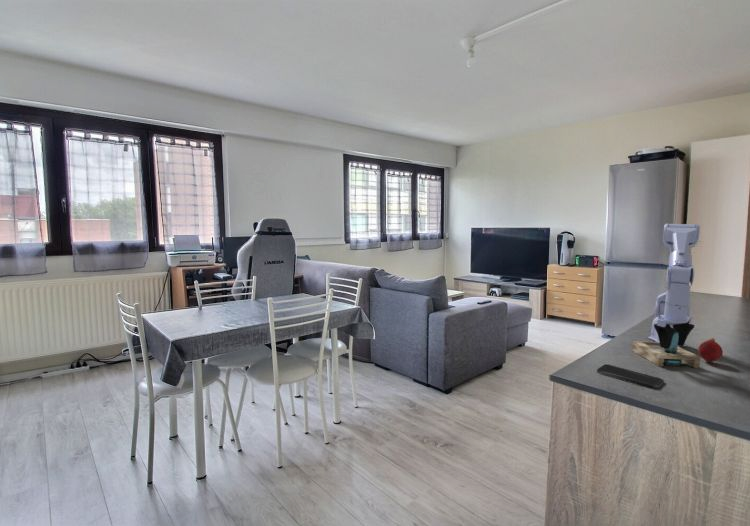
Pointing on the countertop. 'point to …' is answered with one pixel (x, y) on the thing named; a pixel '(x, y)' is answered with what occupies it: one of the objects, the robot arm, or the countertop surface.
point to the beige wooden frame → (664, 354)
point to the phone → (631, 376)
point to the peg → (673, 351)
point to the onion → (710, 350)
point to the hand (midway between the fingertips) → (671, 346)
